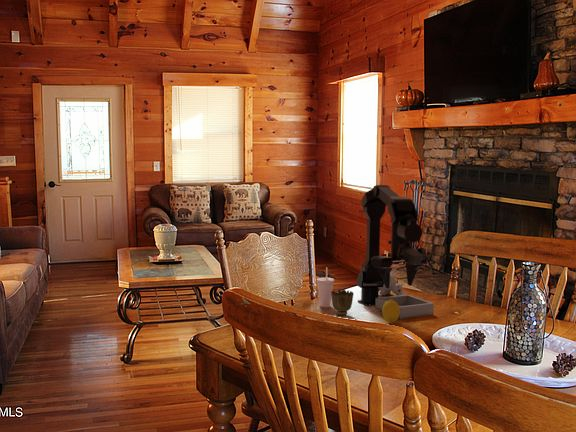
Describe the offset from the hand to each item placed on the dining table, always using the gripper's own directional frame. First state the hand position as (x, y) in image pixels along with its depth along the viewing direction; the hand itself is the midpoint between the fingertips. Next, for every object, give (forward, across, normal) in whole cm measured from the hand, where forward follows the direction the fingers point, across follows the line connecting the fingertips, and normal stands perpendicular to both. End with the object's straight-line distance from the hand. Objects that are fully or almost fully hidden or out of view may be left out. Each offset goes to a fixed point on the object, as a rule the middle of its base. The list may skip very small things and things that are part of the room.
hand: (398, 286), depth 196 cm
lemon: (+12, -2, +1) cm, 13 cm away
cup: (+12, -10, +17) cm, 23 cm away
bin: (+12, +12, +11) cm, 20 cm away
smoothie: (+12, -8, +30) cm, 33 cm away
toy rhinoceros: (+12, +23, +32) cm, 41 cm away
